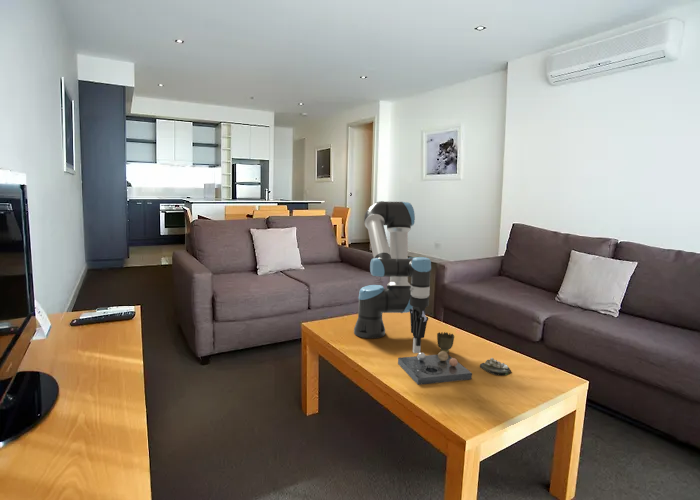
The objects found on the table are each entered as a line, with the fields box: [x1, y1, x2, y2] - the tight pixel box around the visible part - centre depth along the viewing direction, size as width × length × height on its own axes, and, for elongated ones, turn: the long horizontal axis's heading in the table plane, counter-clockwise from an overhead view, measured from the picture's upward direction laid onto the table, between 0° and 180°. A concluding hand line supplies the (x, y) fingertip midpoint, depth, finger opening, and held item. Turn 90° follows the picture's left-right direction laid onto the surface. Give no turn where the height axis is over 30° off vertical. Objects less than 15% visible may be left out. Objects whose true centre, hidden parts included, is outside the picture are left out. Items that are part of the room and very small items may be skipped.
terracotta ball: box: [449, 357, 459, 367], centre depth 164 cm, size 3×3×3 cm
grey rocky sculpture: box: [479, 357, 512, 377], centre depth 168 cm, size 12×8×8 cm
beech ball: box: [437, 351, 449, 361], centre depth 168 cm, size 4×4×4 cm
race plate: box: [397, 354, 473, 386], centre depth 165 cm, size 19×22×2 cm
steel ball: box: [416, 351, 426, 361], centre depth 168 cm, size 3×3×3 cm
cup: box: [436, 331, 455, 354], centre depth 184 cm, size 8×7×8 cm
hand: (416, 352), depth 172 cm, fingers closed
